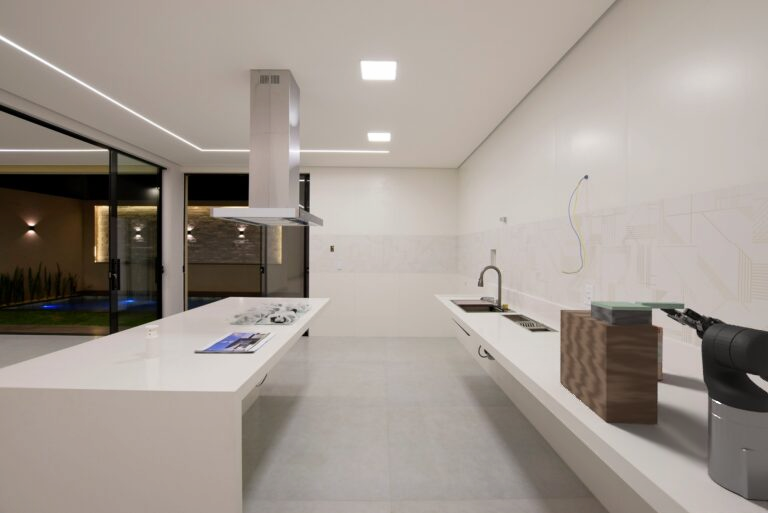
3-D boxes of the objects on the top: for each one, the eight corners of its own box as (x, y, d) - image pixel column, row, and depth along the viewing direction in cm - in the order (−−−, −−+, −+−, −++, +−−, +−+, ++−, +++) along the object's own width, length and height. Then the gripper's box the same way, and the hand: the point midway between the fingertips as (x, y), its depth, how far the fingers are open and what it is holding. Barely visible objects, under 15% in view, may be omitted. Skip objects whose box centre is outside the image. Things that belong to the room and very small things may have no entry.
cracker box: (663, 381, 123) (663, 327, 123) (646, 379, 124) (646, 326, 124) (642, 368, 137) (642, 320, 137) (626, 367, 138) (626, 319, 138)
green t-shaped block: (696, 314, 91) (696, 305, 91) (612, 313, 93) (612, 304, 93) (665, 308, 102) (665, 300, 102) (590, 307, 104) (590, 299, 104)
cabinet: (657, 424, 90) (657, 311, 91) (606, 422, 92) (606, 310, 92) (599, 385, 118) (599, 298, 119) (560, 383, 120) (560, 298, 120)
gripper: (707, 321, 103) (661, 295, 104) (755, 331, 88) (701, 301, 90) (694, 340, 103) (648, 314, 104) (740, 354, 89) (686, 323, 90)
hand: (673, 308), depth 97 cm, fingers open, 8 cm apart
